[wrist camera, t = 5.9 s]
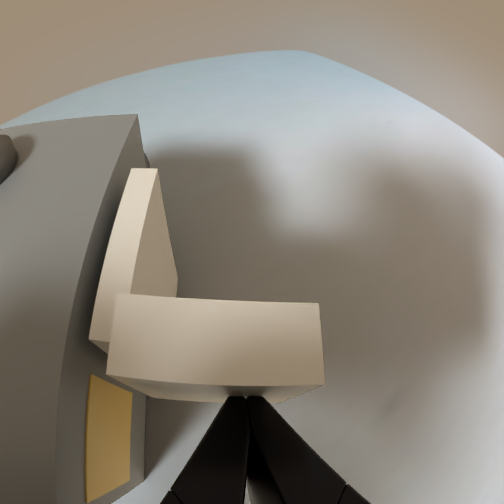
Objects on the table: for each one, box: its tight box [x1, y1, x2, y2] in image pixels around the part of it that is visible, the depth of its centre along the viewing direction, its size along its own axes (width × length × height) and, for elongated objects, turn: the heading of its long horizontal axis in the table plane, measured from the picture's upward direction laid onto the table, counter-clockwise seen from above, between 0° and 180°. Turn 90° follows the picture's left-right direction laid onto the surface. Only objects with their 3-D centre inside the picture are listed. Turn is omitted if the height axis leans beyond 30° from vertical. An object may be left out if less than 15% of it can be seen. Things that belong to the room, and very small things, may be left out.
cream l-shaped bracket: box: [89, 168, 325, 403], centre depth 10 cm, size 6×5×8 cm
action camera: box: [0, 114, 150, 504], centre depth 10 cm, size 14×7×9 cm, turn 0°
